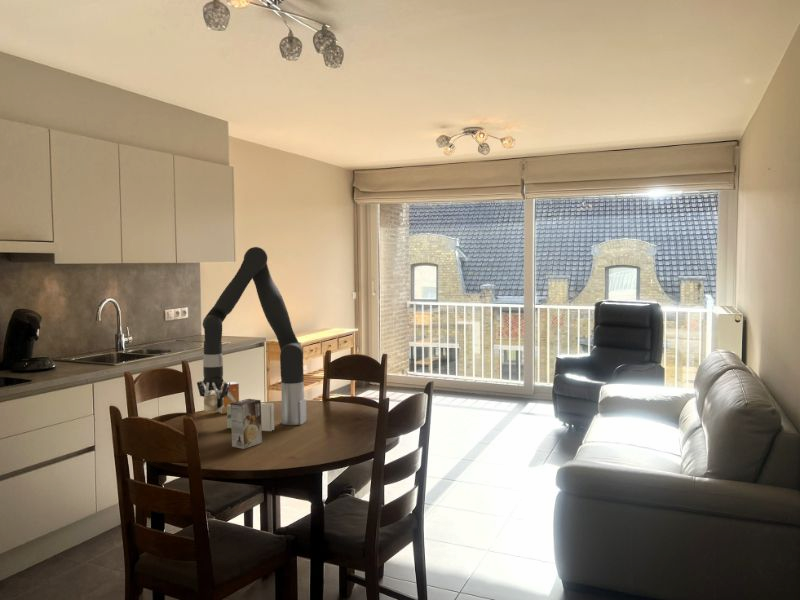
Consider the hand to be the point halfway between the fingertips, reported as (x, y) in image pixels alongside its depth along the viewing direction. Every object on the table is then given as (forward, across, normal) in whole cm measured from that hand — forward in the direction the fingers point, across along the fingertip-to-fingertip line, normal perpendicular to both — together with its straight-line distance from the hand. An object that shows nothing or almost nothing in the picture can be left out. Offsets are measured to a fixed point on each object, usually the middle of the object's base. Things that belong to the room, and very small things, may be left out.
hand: (213, 407), depth 247 cm
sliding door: (+9, -10, -3) cm, 14 cm away
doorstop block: (+1, 0, 0) cm, 1 cm away
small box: (+9, +11, -30) cm, 33 cm away
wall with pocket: (+9, -20, -3) cm, 22 cm away
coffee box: (+9, -24, +18) cm, 32 cm away
